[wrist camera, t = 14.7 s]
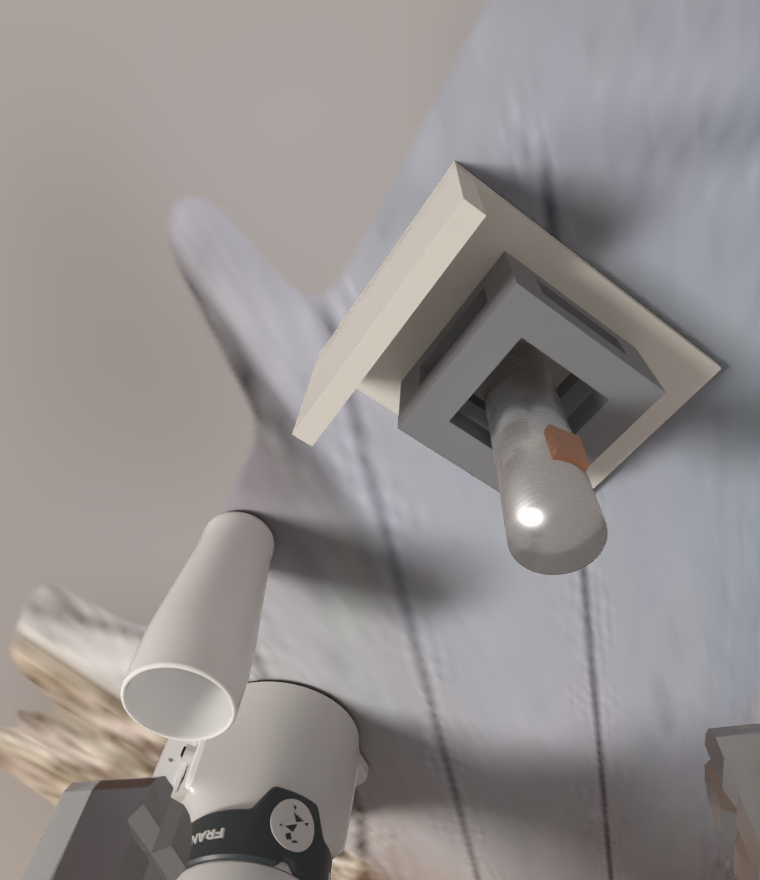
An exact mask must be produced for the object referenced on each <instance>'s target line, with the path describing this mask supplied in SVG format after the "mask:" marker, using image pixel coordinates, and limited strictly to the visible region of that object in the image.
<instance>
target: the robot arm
mask: <svg viewBox="0 0 760 880" xmlns="http://www.w3.org/2000/svg"><path fill="white" fill-rule="evenodd" d="M705 746H706V748H707V751H708V754H709V756H710V760H709V761H708V762H707V763H706V764H705V784H706V790H707V795H708V801H709V804H710V807H711V811H712V814H713V817H714V820H715V823H716V826H717V829H718V831H719V834H720V836H721V837H722V838H723V839H724V840H725V841H726V842H728V843H729V844H730V845H731V846H732V847H733V848H734V858H733V872H734V875H735V878H736V880H760V724H751V725H741V726H731V727H721V728H711V729H708V730H707V732H706V736H705ZM368 771H369V767H368V765H367V763H366V761H365V760H364V758H363V757H362V755H361V754H360V751H359V734H358V730H357V727H356V725H355V723H354V721H353V719H352V718H351V717H350V715H349V714H348V713H347V712H346V711H345V710H344V709H343V708H342V707H341V706H340V705H339V704H337V703H336V702H335V701H333V700H332V699H330V698H328V697H327V696H325V695H323V694H321V693H319V692H316V691H314V690H311V689H309V688H306V687H302V686H299V685H294V684H289V683H283V682H253V683H247V686H246V689H245V693H244V696H243V699H242V702H241V705H240V708H239V710H238V713H237V717H236V719H235V721H234V723H233V725H232V726H231V727H230V728H229V729H228V730H227V731H226V732H224V733H223V734H221V735H219V736H217V737H215V738H212V739H208V740H203V741H192V742H190V741H178V740H173V739H167V742H166V744H165V746H164V749H163V751H162V753H161V756H160V758H159V760H158V762H157V765H156V767H155V770H154V773H153V777H142V778H128V779H115V780H96V781H85V782H74V783H72V784H71V785H70V786H69V787H68V788H67V789H66V790H65V791H64V792H63V794H62V796H61V798H60V800H59V802H58V804H57V806H56V808H55V810H54V812H53V814H52V817H51V819H50V820H49V822H48V825H47V827H46V829H45V831H44V833H43V835H42V837H41V839H40V841H39V843H38V845H37V847H36V850H35V852H34V853H33V856H32V858H31V860H30V862H29V864H28V866H27V868H26V870H25V872H24V874H23V877H22V878H21V880H331V866H332V859H333V858H335V857H336V856H337V855H338V854H339V853H341V852H342V851H343V849H344V847H345V844H346V839H347V833H348V828H349V822H350V816H351V811H352V805H353V799H354V793H355V788H356V787H357V786H359V785H361V784H363V783H364V782H366V780H367V776H368Z"/></svg>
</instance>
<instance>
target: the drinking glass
mask: <svg viewBox="0 0 760 880" xmlns="http://www.w3.org/2000/svg"><path fill="white" fill-rule="evenodd" d="M273 552H274V538H273V535H272V533H271V531H270V529H269V528H268V526H267V525H266V524H265V523H264V522H263V521H261V520H260V519H258V518H257V517H255V516H253V515H251V514H248V513H244V512H226V513H223V514H220V515H218V516H216V517H214V518H213V519H212V520H211V521H210V522H209V523H208V524H207V526H206V527H205V529H204V531H203V533H202V535H201V538H200V540H199V542H198V544H197V546H196V547H195V549H194V550H193V552H192V554H191V556H190V557H189V559H188V561H187V562H186V564H185V566H184V567H183V569H182V571H181V572H180V574H179V576H178V577H177V579H176V581H175V582H174V584H173V586H172V587H171V589H170V591H169V592H168V594H167V596H166V597H165V599H164V600H163V602H162V604H161V605H160V607H159V609H158V610H157V612H156V614H155V616H154V617H153V619H152V621H151V622H150V624H149V626H148V628H147V629H146V631H145V633H144V635H143V637H142V639H141V641H140V643H139V645H138V648H137V650H136V652H135V654H134V657H133V659H132V661H131V664H130V666H129V668H128V671H127V673H126V676H125V679H124V681H123V683H122V686H121V692H120V694H121V701H122V704H123V706H124V708H125V710H126V712H127V713H128V714H129V716H130V717H131V718H132V719H133V720H134V721H135V722H136V723H138V724H139V725H140V726H142V727H143V728H145V729H146V730H148V731H150V732H152V733H154V734H157V735H159V736H162V737H165V738H168V739H173V740H178V741H190V742H192V741H203V740H208V739H212V738H215V737H217V736H219V735H221V734H223V733H224V732H226V731H227V730H228V729H229V728H230V727H231V726H232V725H233V723H234V721H235V719H236V717H237V713H238V710H239V708H240V705H241V702H242V699H243V696H244V693H245V689H246V686H247V683H248V679H249V675H250V671H251V667H252V663H253V659H254V654H255V648H256V643H257V637H258V631H259V625H260V618H261V612H262V606H263V600H264V595H265V589H266V583H267V577H268V572H269V567H270V563H271V559H272V556H273Z"/></svg>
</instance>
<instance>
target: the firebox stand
mask: <svg viewBox="0 0 760 880" xmlns="http://www.w3.org/2000/svg"><path fill="white" fill-rule="evenodd" d="M518 341H521V342H526V343H529V344H531V345H533V346H534V347H536V348H537V349H538V350H539V351H540V352H541V353H542V355H543V356H544V358H545V361H546V364H547V366H548V369H549V372H550V374H551V377H552V380H553V382H554V385H555V388H556V390H557V393H558V396H559V399H560V401H561V404H562V407H563V409H564V412H565V415H566V417H567V420H568V423H569V425H570V428H571V431H572V433H573V434H575V435H577V436H579V437H580V439H581V442H582V444H583V447H584V449H585V452H586V455H587V457H588V460H589V462H590V466H589V467H588V469H587V470H586V471H587V474H588V477H589V479H590V482H591V485H592V487H593V489H594V488H595V487H596V486H597V485H598V484H599V483H600V482H601V481H602V480H603V479H604V478H605V477H607V476H608V475H609V474H610V473H611V472H612V471H613V470H614V469H615V468H616V467H617V466H618V465H619V464H620V463H622V462H623V461H624V460H625V459H626V458H627V457H628V456H629V455H630V454H631V453H632V452H633V451H634V450H635V449H636V448H638V447H639V446H640V445H641V444H642V443H643V442H644V441H645V440H646V439H647V438H648V437H649V436H650V435H651V434H653V433H654V432H655V431H656V430H657V429H658V428H659V427H660V426H661V425H662V424H663V423H664V422H665V421H666V420H667V419H669V418H670V417H671V416H672V415H673V414H674V413H675V412H676V411H677V410H678V409H679V408H680V407H681V406H682V405H683V404H685V403H686V402H687V401H688V400H689V399H690V398H691V397H692V396H693V395H694V394H695V393H696V392H697V391H698V390H700V389H701V388H702V387H703V386H704V385H705V384H706V383H707V382H708V381H709V380H710V379H711V378H712V377H713V376H714V375H716V374H717V373H718V372H719V371H720V370H721V368H720V366H719V365H718V364H717V363H716V362H715V361H714V360H713V359H712V358H710V357H709V356H708V355H706V354H705V353H704V352H702V351H701V350H700V349H699V348H697V347H696V346H695V345H693V344H692V343H691V342H689V341H688V340H687V339H686V338H684V337H683V336H682V335H680V334H679V333H678V332H676V331H675V330H674V329H673V328H671V327H670V326H669V325H667V324H666V323H665V322H663V321H662V320H661V319H660V318H658V317H657V316H656V315H654V314H653V313H652V312H650V311H649V310H648V309H647V308H645V307H644V306H643V305H641V304H640V303H639V302H637V301H636V300H635V299H634V298H632V297H631V296H630V295H628V294H627V293H626V292H624V291H623V290H622V289H621V288H619V287H618V286H617V285H615V284H614V283H613V282H611V281H610V280H609V279H608V278H606V277H605V276H604V275H602V274H601V273H600V272H598V271H597V270H596V269H595V268H593V267H592V266H591V265H589V264H588V263H587V262H585V261H584V260H583V259H582V258H580V257H579V256H578V255H576V254H575V253H574V252H573V251H571V250H570V249H569V248H567V247H566V246H565V245H563V244H562V243H561V242H560V241H558V240H557V239H556V238H554V237H553V236H552V235H550V234H549V233H548V232H547V231H545V230H544V229H543V228H541V227H540V226H539V225H537V224H536V223H535V222H534V221H532V220H531V219H530V218H528V217H527V216H526V215H524V214H523V213H522V212H521V211H519V210H518V209H517V208H515V207H514V206H513V205H511V204H510V203H509V202H508V201H506V200H505V199H504V198H502V197H501V196H500V195H498V194H497V193H496V192H495V191H493V190H492V189H491V188H489V187H488V186H487V185H485V184H484V183H483V182H482V181H480V180H479V179H478V178H476V177H475V176H474V175H472V174H471V173H470V172H469V171H467V170H466V169H465V168H463V167H462V166H461V165H459V164H458V163H457V162H456V161H454V162H453V164H452V165H451V167H450V168H449V170H448V171H447V172H446V174H445V175H444V177H443V178H442V180H441V181H440V182H439V184H438V185H437V187H436V188H435V190H434V191H433V192H432V194H431V195H430V197H429V198H428V200H427V201H426V202H425V204H424V205H423V207H422V208H421V210H420V211H419V212H418V214H417V215H416V217H415V218H414V220H413V221H412V222H411V224H410V225H409V227H408V228H407V230H406V231H405V232H404V234H403V235H402V237H401V238H400V240H399V241H398V242H397V244H396V245H395V247H394V248H393V250H392V251H391V252H390V254H389V255H388V257H387V258H386V260H385V261H384V262H383V264H382V265H381V267H380V268H379V270H378V271H377V272H376V274H375V275H374V277H373V278H372V280H371V281H370V282H369V284H368V285H367V287H366V288H365V290H364V291H363V292H362V294H361V295H360V297H359V298H358V300H357V301H356V302H355V304H354V305H353V307H352V308H351V310H350V311H349V312H348V314H347V315H346V317H345V318H344V320H343V321H342V322H341V324H340V325H339V327H338V328H337V330H336V331H335V332H334V334H333V335H332V337H331V338H330V340H329V341H328V342H327V344H326V345H325V347H324V348H323V350H322V351H321V352H320V354H319V356H318V359H317V362H316V365H315V368H314V371H313V374H312V377H311V380H310V383H309V386H308V388H307V391H306V394H305V397H304V400H303V403H302V406H301V409H300V412H299V415H298V418H297V421H296V424H295V427H294V430H293V433H292V435H294V436H296V437H297V438H299V439H301V440H302V441H304V442H306V443H307V444H309V445H311V446H313V445H314V443H315V442H316V441H317V439H318V438H319V437H320V435H321V434H322V433H323V431H324V430H325V429H326V427H327V426H328V425H329V423H330V422H331V421H332V420H333V418H334V417H335V416H336V414H337V413H338V412H339V410H340V409H341V408H342V406H343V405H344V404H345V402H346V401H347V400H348V398H349V397H350V396H351V394H352V393H353V392H354V390H355V389H356V388H357V389H358V390H360V391H361V392H363V393H364V394H366V395H368V396H369V397H371V398H372V399H374V400H375V401H377V402H379V403H380V404H382V405H383V406H385V407H386V408H388V409H390V410H391V411H393V412H394V413H396V414H397V415H399V416H398V429H400V430H401V431H403V432H404V433H406V434H408V435H409V436H411V437H412V438H414V439H416V440H417V441H419V442H420V443H422V444H423V445H425V446H427V447H428V448H430V449H431V450H433V451H435V452H436V453H438V454H439V455H441V456H443V457H444V458H446V459H447V460H449V461H450V462H452V463H454V464H455V465H457V466H458V467H460V468H462V469H463V470H465V471H466V472H468V473H470V474H471V475H473V476H474V477H476V478H477V479H479V480H481V481H482V482H484V483H485V484H487V485H489V486H490V487H492V488H493V489H495V490H496V491H498V492H499V486H498V480H497V474H496V468H495V462H494V456H493V449H492V443H491V437H490V431H489V425H488V419H487V413H486V406H485V400H484V394H483V388H482V383H483V381H484V380H485V379H486V378H487V377H488V376H489V375H490V373H491V372H492V371H493V370H494V369H495V368H496V366H497V365H498V364H499V363H500V362H501V361H502V360H503V358H504V357H505V356H506V355H507V354H508V353H509V351H510V350H511V349H512V348H513V347H514V346H515V344H516V343H517V342H518Z"/></svg>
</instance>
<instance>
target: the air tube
mask: <svg viewBox="0 0 760 880" xmlns="http://www.w3.org/2000/svg"><path fill="white" fill-rule="evenodd" d="M482 388H483V394H484V400H485V406H486V413H487V419H488V425H489V431H490V437H491V443H492V449H493V456H494V462H495V468H496V474H497V480H498V486H499V492H500V499H501V505H502V511H503V517H504V523H505V529H506V535H507V542H508V547H509V550H510V552H511V554H512V556H513V557H514V559H515V560H516V561H517V562H518V563H519V564H521V565H522V566H523V567H525V568H527V569H529V570H531V571H533V572H536V573H540V574H547V575H560V574H566V573H571V572H574V571H577V570H579V569H581V568H583V567H585V566H587V565H588V564H590V563H591V562H592V561H594V560H595V559H596V558H597V557H598V556H599V554H600V553H601V552H602V550H603V548H604V546H605V544H606V541H607V526H606V522H605V520H604V517H603V514H602V512H601V509H600V506H599V504H598V501H597V498H596V496H595V493H594V490H593V487H592V485H591V482H590V479H589V477H588V474H587V471H586V470H587V469H588V467H589V466H590V462H589V460H588V457H587V455H586V452H585V449H584V447H583V444H582V442H581V439H580V437H579V436H577V435H575V434H573V433H572V431H571V428H570V425H569V423H568V420H567V417H566V415H565V412H564V409H563V407H562V404H561V401H560V399H559V396H558V393H557V390H556V388H555V385H554V382H553V380H552V377H551V374H550V372H549V369H548V366H547V364H546V361H545V358H544V356H543V355H542V353H541V352H540V351H539V350H538V349H537V348H536V347H534V346H533V345H531V344H529V343H526V342H521V341H518V342H517V343H516V344H515V346H514V347H513V348H512V349H511V350H510V351H509V353H508V354H507V355H506V356H505V357H504V358H503V360H502V361H501V362H500V363H499V364H498V365H497V366H496V368H495V369H494V370H493V371H492V372H491V373H490V375H489V376H488V377H487V378H486V379H485V380H484V381H483V383H482Z"/></svg>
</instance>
